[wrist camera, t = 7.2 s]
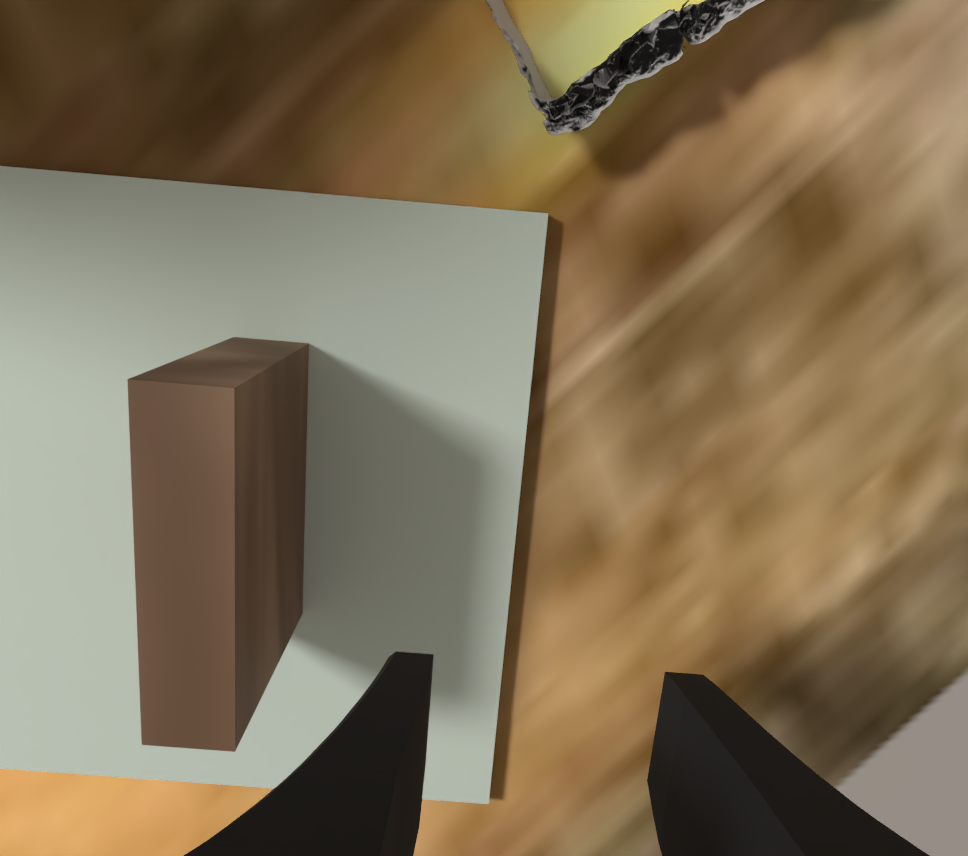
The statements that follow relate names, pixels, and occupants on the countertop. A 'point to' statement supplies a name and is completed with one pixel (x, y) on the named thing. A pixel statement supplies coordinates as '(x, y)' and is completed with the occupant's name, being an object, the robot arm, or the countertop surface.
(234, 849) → the robot arm
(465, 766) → the mat
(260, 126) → the countertop surface
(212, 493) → the walnut slab
